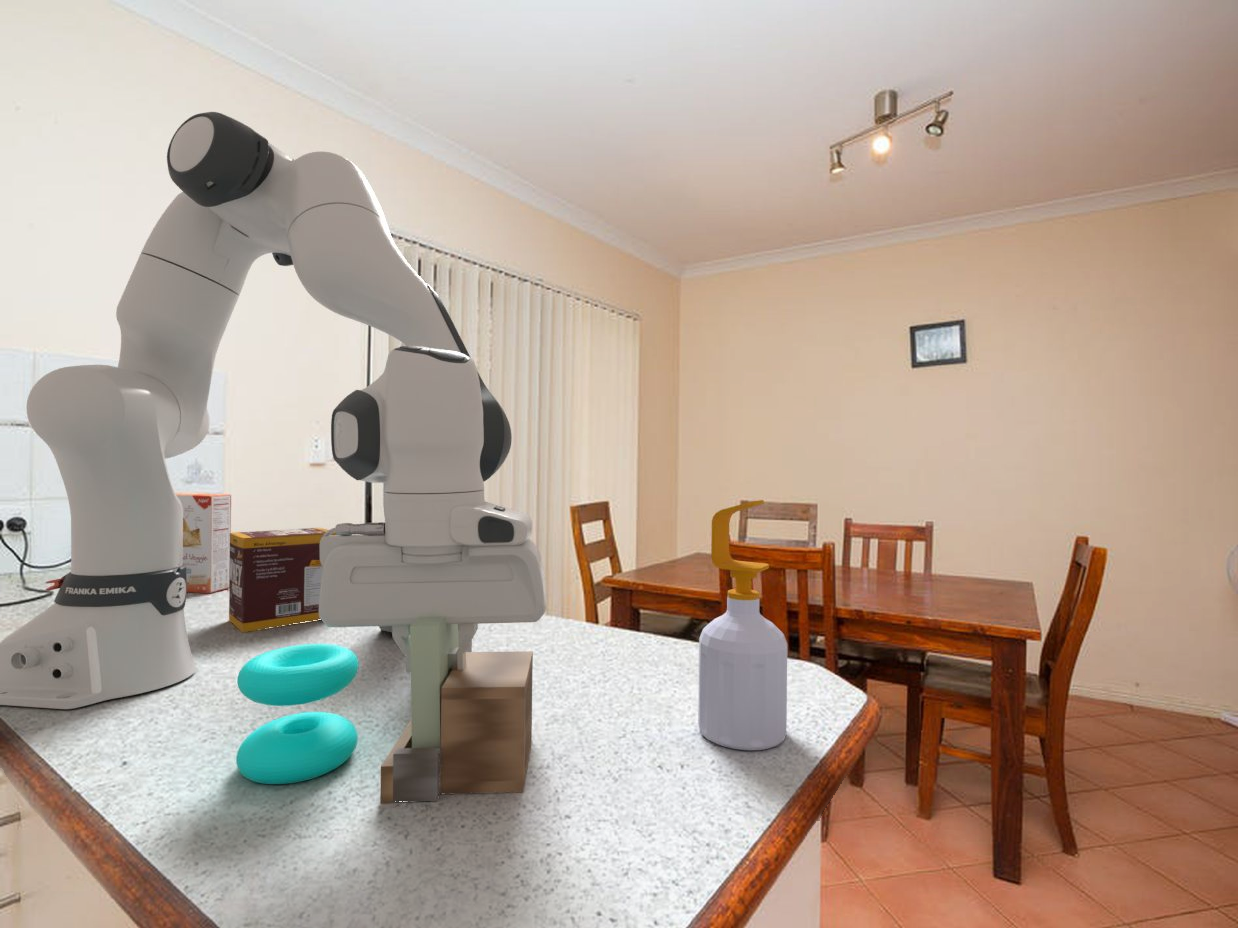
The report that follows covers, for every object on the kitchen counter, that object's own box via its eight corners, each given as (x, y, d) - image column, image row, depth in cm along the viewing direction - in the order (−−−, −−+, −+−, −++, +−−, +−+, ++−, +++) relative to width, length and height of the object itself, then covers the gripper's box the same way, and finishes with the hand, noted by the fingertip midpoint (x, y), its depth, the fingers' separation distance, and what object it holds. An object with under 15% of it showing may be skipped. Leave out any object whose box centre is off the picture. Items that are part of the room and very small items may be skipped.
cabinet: (380, 802, 51) (381, 693, 51) (417, 737, 63) (419, 649, 63) (522, 798, 52) (523, 691, 52) (532, 735, 64) (533, 648, 64)
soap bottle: (770, 761, 59) (773, 503, 59) (683, 737, 64) (686, 499, 64) (796, 727, 66) (799, 499, 66) (718, 709, 71) (720, 496, 71)
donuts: (358, 636, 64) (359, 665, 55) (356, 732, 64) (357, 777, 55) (246, 646, 60) (228, 679, 51) (245, 748, 60) (226, 800, 51)
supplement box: (227, 621, 108) (228, 531, 108) (320, 608, 118) (321, 526, 118) (240, 633, 100) (242, 537, 100) (339, 618, 111) (340, 531, 111)
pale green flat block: (402, 752, 53) (400, 626, 52) (427, 706, 62) (425, 598, 61) (440, 750, 53) (438, 625, 53) (459, 705, 62) (458, 597, 62)
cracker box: (151, 591, 131) (152, 493, 131) (175, 585, 137) (177, 491, 137) (208, 594, 129) (210, 494, 129) (231, 588, 135) (232, 493, 135)
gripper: (304, 527, 53) (307, 686, 53) (544, 524, 55) (545, 679, 55) (332, 519, 59) (335, 661, 60) (546, 516, 61) (547, 655, 61)
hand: (437, 670), depth 57 cm, fingers closed on pale green flat block, 2 cm apart
